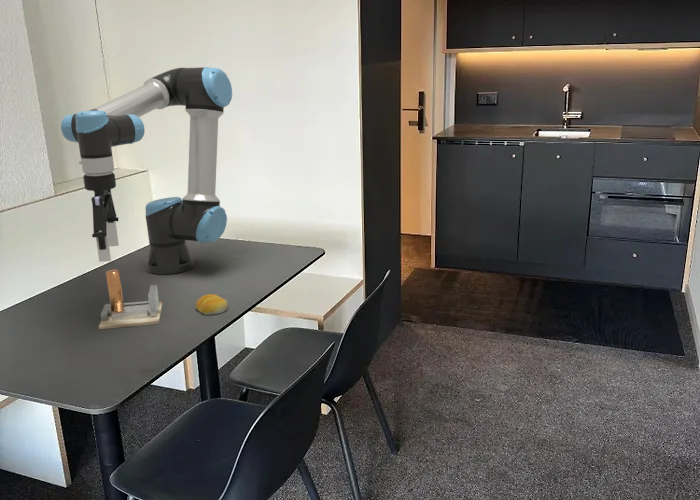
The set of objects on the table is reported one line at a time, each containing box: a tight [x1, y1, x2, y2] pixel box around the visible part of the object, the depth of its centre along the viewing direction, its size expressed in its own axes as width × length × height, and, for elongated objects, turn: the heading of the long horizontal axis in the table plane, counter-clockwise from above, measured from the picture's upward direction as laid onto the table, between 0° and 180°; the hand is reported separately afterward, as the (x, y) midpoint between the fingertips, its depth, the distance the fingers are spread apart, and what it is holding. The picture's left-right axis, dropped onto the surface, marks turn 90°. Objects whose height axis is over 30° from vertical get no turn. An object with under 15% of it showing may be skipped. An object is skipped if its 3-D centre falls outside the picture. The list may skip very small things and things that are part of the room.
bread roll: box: [195, 293, 229, 316], centre depth 179 cm, size 8×9×4 cm
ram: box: [105, 268, 160, 316], centre depth 173 cm, size 8×12×12 cm, turn 101°
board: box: [98, 301, 163, 330], centre depth 175 cm, size 14×15×1 cm
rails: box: [100, 300, 149, 321], centre depth 174 cm, size 7×12×2 cm, turn 101°
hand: (109, 253), depth 169 cm, fingers open, 13 cm apart
